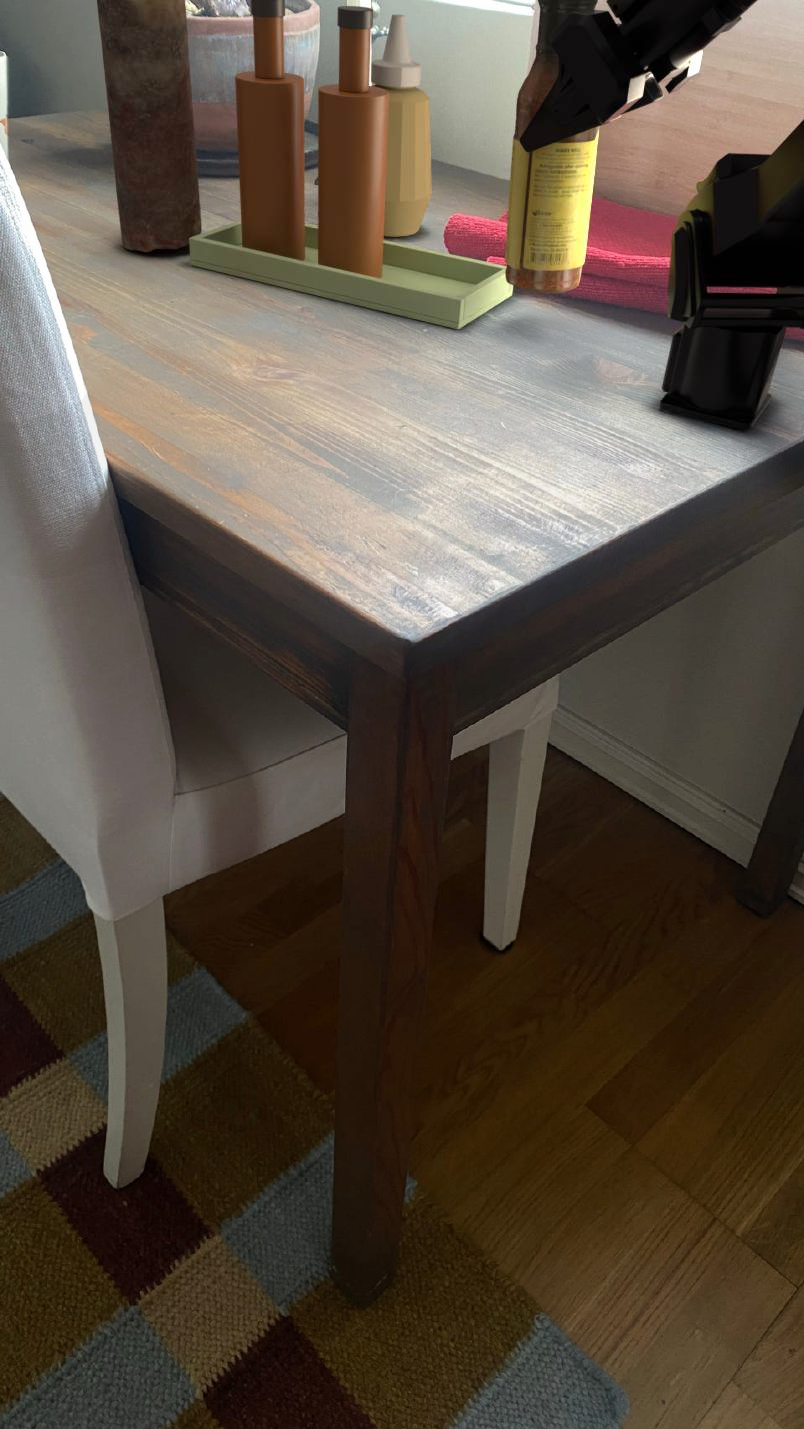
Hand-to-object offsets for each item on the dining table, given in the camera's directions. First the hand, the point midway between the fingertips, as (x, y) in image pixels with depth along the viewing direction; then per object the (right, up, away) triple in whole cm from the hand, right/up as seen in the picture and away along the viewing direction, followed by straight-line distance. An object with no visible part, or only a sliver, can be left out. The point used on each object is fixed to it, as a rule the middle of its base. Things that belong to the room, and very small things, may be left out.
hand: (540, 139), depth 77 cm
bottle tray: (-15, -4, +15) cm, 21 cm away
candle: (-32, +1, +20) cm, 38 cm away
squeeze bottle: (-11, +6, +27) cm, 30 cm away
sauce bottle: (+1, -8, +6) cm, 10 cm away
